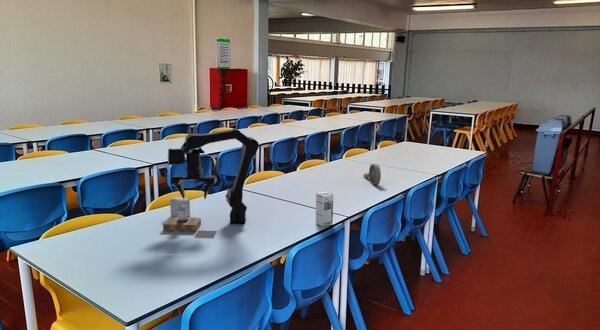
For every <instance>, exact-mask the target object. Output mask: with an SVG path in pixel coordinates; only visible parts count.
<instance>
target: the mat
mask: <svg viewBox="0 0 600 330" xmlns="http://www.w3.org/2000/svg"><path fill="white" fill-rule="evenodd" d="M217 233H218V231H217V230H200V229H198V230H197V232H196V233H195V235H194V236H193V238H194V239H214V238H215V236H216V235H217Z"/></svg>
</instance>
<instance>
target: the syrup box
mask: <svg viewBox="0 0 600 330" xmlns="http://www.w3.org/2000/svg"><path fill="white" fill-rule="evenodd" d="M333 211H334V194H333V193H331V192H329V191H323V192H317V193H315V224H317V225H319V226H321V227H327V226H330V225H331V226H332V225H333V220H334V219H333V218H334V215H333V214H334V212H333Z"/></svg>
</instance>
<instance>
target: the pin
mask: <svg viewBox="0 0 600 330" xmlns="http://www.w3.org/2000/svg"><path fill="white" fill-rule="evenodd" d="M186 208H187V207H186V206H185V205H181V206H178V207H177V209H178V213H179V223H186Z"/></svg>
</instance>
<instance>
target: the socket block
mask: <svg viewBox="0 0 600 330" xmlns="http://www.w3.org/2000/svg"><path fill="white" fill-rule="evenodd" d="M201 226H202V218H201V217H190V216H189V217H186V223H179V217H171V216H169V217H167V219H166V220H165V221H164V223H163V224H162V230H163V231H162V232H172V233H173V232H174V233H176V232H177V233H197V232H198V230H200V227H201Z"/></svg>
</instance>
